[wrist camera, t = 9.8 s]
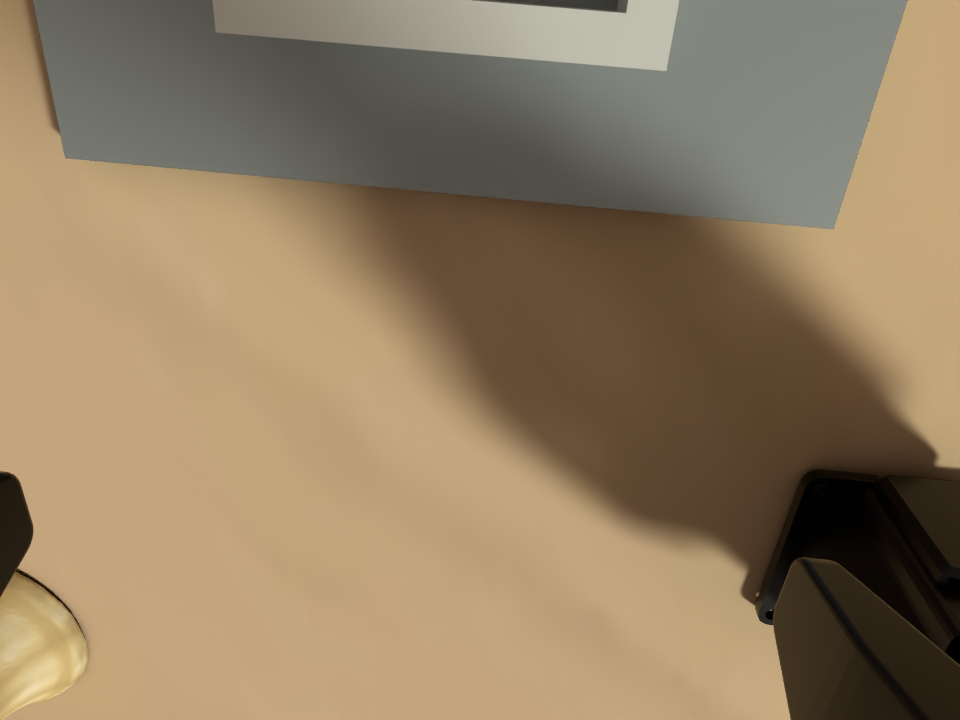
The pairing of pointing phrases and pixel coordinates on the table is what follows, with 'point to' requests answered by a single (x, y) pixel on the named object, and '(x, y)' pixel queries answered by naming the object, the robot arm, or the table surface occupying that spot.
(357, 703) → the table surface
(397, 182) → the socket board
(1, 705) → the hand bell
